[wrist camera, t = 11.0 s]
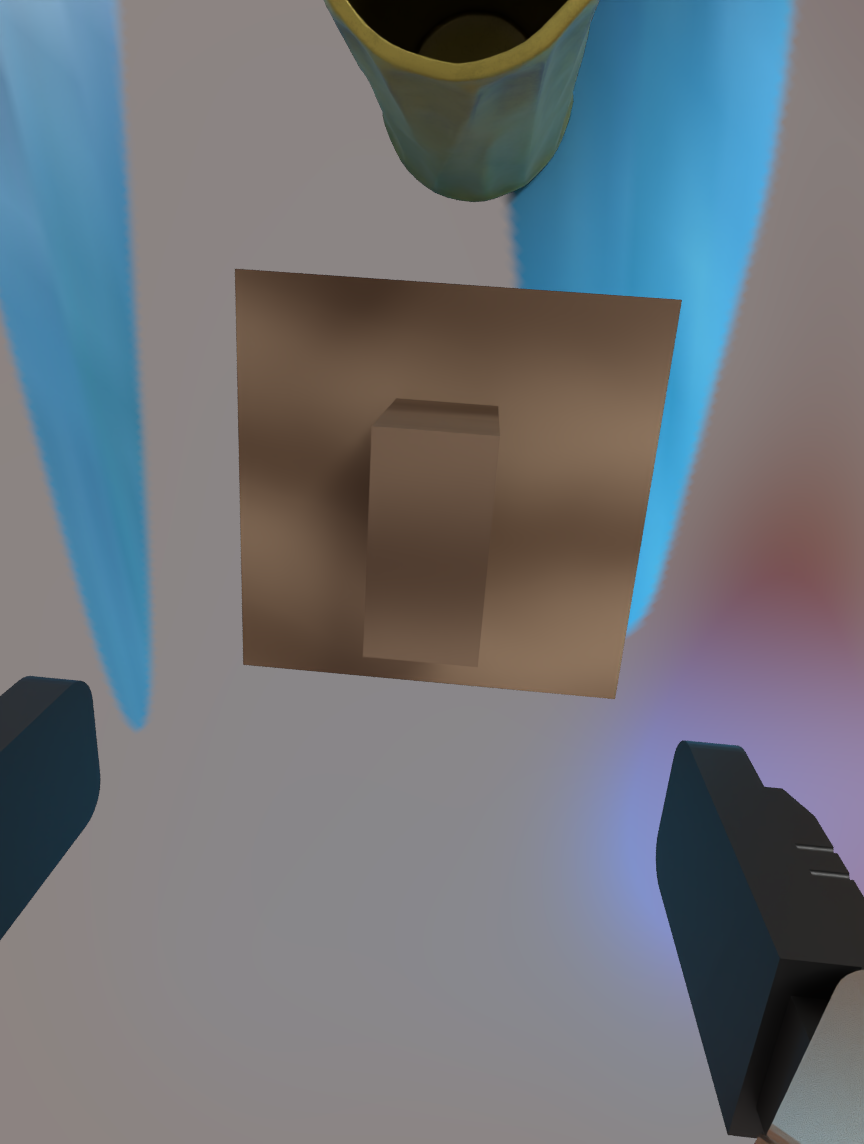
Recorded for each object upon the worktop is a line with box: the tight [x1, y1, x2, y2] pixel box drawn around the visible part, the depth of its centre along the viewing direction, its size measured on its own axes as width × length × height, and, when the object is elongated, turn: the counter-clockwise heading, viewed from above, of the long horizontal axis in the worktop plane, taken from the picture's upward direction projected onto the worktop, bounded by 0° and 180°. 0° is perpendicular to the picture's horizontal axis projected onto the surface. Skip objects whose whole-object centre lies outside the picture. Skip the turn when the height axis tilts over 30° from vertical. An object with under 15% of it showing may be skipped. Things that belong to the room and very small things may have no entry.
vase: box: [324, 0, 599, 202], centre depth 18 cm, size 6×6×14 cm
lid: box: [235, 269, 682, 699], centre depth 22 cm, size 12×12×6 cm
